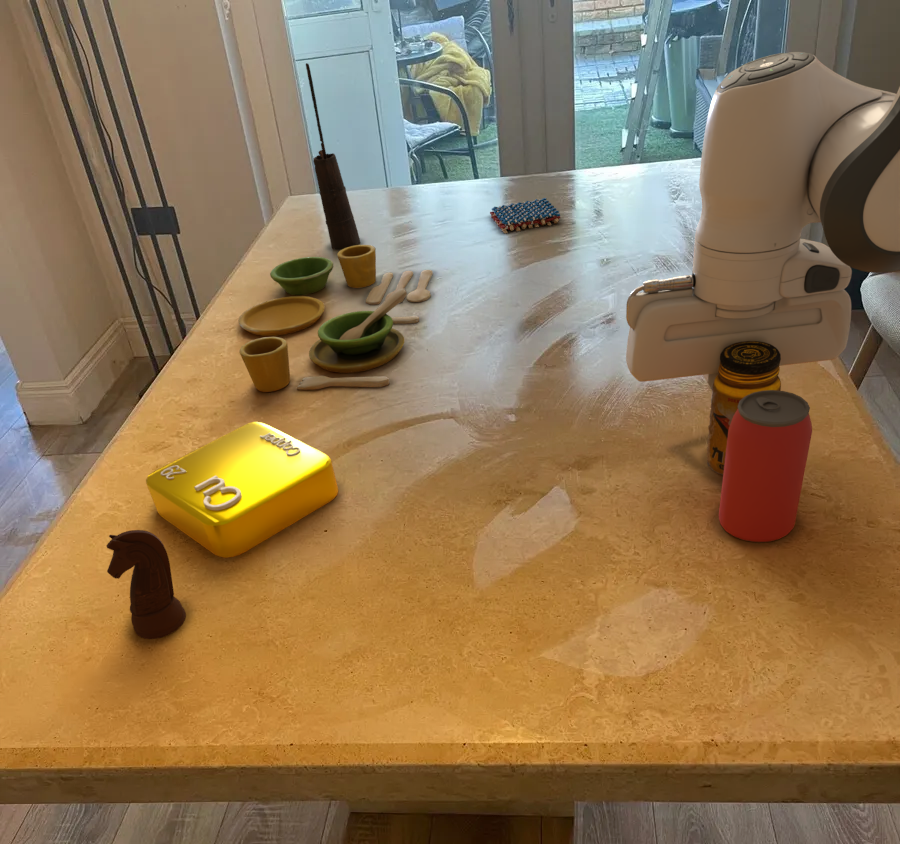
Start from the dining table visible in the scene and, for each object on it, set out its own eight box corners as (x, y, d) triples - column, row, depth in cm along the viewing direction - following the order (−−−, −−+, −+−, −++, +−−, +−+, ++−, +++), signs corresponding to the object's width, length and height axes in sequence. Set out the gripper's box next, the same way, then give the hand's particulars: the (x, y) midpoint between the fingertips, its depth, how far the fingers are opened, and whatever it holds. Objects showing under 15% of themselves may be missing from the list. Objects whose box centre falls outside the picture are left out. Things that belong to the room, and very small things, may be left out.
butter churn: (321, 238, 154) (284, 58, 135) (373, 233, 153) (343, 51, 134) (313, 256, 147) (273, 69, 129) (367, 250, 146) (334, 61, 128)
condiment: (728, 491, 81) (742, 375, 74) (677, 451, 88) (685, 341, 80) (791, 468, 83) (811, 353, 75) (736, 431, 89) (750, 322, 81)
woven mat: (488, 218, 152) (487, 206, 150) (545, 208, 152) (545, 196, 151) (501, 235, 144) (500, 223, 142) (562, 225, 145) (561, 212, 143)
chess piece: (130, 619, 77) (88, 530, 70) (185, 598, 78) (147, 509, 72) (141, 648, 74) (98, 558, 67) (198, 625, 75) (160, 535, 69)
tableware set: (390, 394, 104) (382, 345, 100) (182, 400, 110) (166, 355, 106) (442, 269, 135) (437, 228, 131) (278, 279, 140) (268, 240, 136)
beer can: (763, 496, 80) (781, 379, 72) (810, 532, 75) (835, 411, 68) (703, 516, 79) (715, 400, 71) (747, 555, 74) (764, 434, 66)
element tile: (347, 494, 88) (338, 454, 85) (227, 565, 81) (212, 525, 78) (266, 450, 97) (255, 413, 94) (151, 511, 90) (135, 473, 87)
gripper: (634, 296, 74) (629, 435, 83) (871, 267, 73) (840, 411, 82) (620, 270, 79) (617, 404, 88) (843, 243, 78) (817, 381, 87)
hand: (727, 407), depth 85 cm, fingers closed
